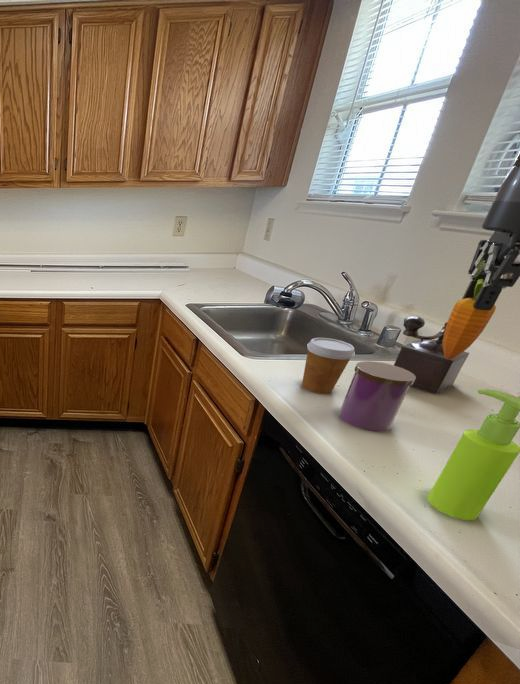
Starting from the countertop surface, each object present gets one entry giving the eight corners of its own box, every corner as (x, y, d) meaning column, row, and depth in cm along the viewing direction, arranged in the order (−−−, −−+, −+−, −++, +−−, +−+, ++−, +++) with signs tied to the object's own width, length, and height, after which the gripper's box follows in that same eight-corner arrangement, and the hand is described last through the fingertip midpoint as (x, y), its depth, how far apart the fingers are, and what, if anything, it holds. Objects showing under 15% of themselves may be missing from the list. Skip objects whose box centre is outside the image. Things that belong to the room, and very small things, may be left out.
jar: (386, 417, 92) (409, 367, 87) (395, 438, 85) (421, 385, 79) (334, 406, 96) (353, 357, 91) (339, 425, 89) (359, 374, 84)
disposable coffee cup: (298, 376, 110) (312, 334, 105) (341, 388, 105) (358, 343, 99) (290, 389, 104) (305, 344, 99) (336, 401, 98) (354, 355, 93)
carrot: (431, 352, 80) (469, 273, 73) (467, 360, 77) (510, 279, 70) (428, 359, 77) (467, 278, 70) (465, 367, 74) (510, 283, 67)
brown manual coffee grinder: (401, 370, 115) (429, 306, 107) (453, 386, 106) (488, 318, 98) (373, 382, 108) (402, 315, 100) (427, 400, 99) (462, 329, 91)
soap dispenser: (439, 489, 71) (499, 385, 62) (486, 519, 65) (560, 408, 56) (410, 492, 70) (467, 387, 61) (456, 523, 64) (526, 411, 55)
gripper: (591, 202, 57) (524, 320, 65) (541, 198, 69) (488, 299, 76) (516, 200, 61) (460, 312, 68) (479, 196, 72) (435, 293, 79)
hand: (475, 305), depth 72 cm, fingers closed on carrot, 4 cm apart
